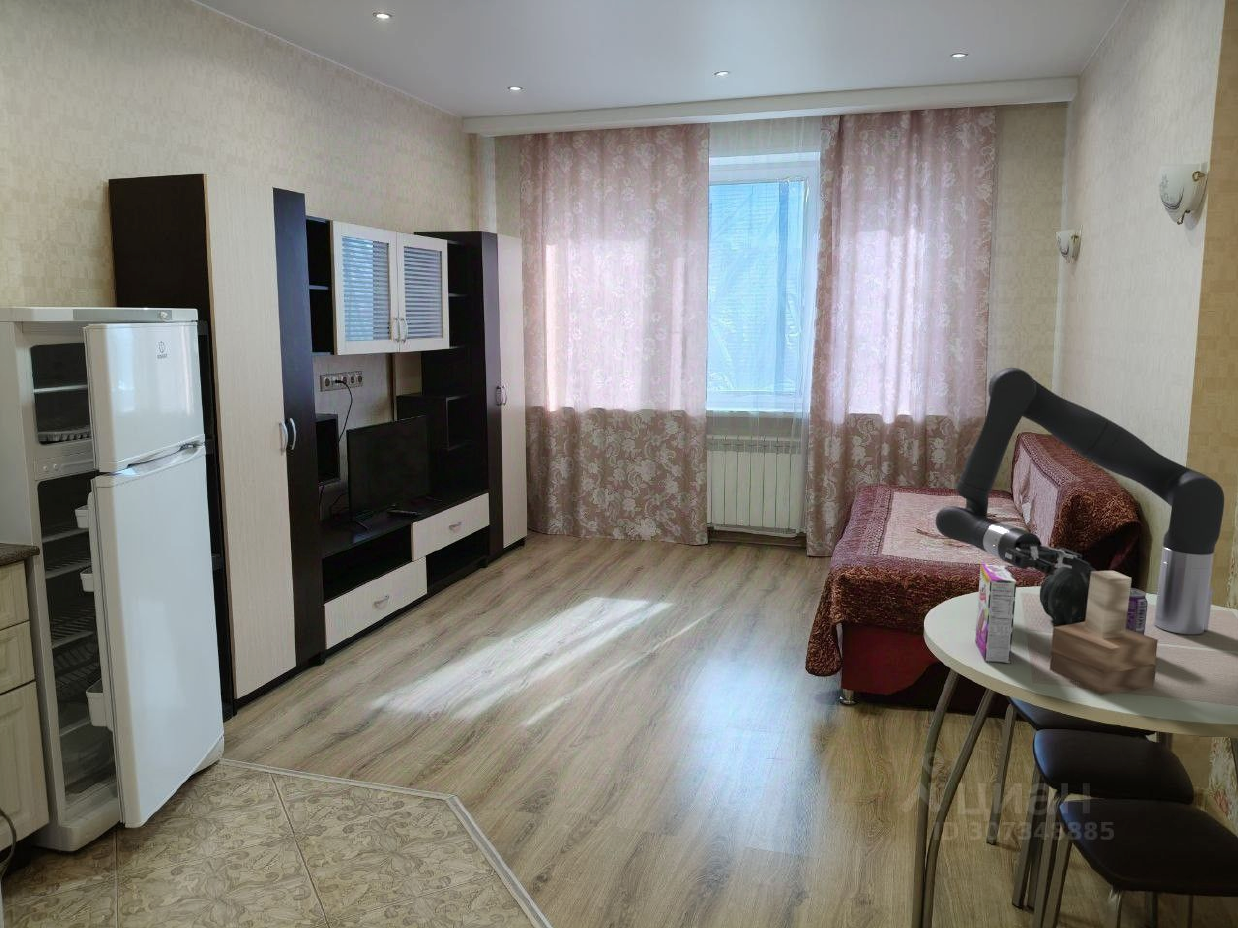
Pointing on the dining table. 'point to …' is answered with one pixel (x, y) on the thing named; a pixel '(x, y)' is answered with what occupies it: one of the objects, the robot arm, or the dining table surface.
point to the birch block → (1107, 604)
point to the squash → (1066, 595)
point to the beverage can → (1136, 611)
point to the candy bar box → (995, 613)
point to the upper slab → (1104, 648)
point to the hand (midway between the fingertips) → (1070, 569)
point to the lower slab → (1103, 676)
